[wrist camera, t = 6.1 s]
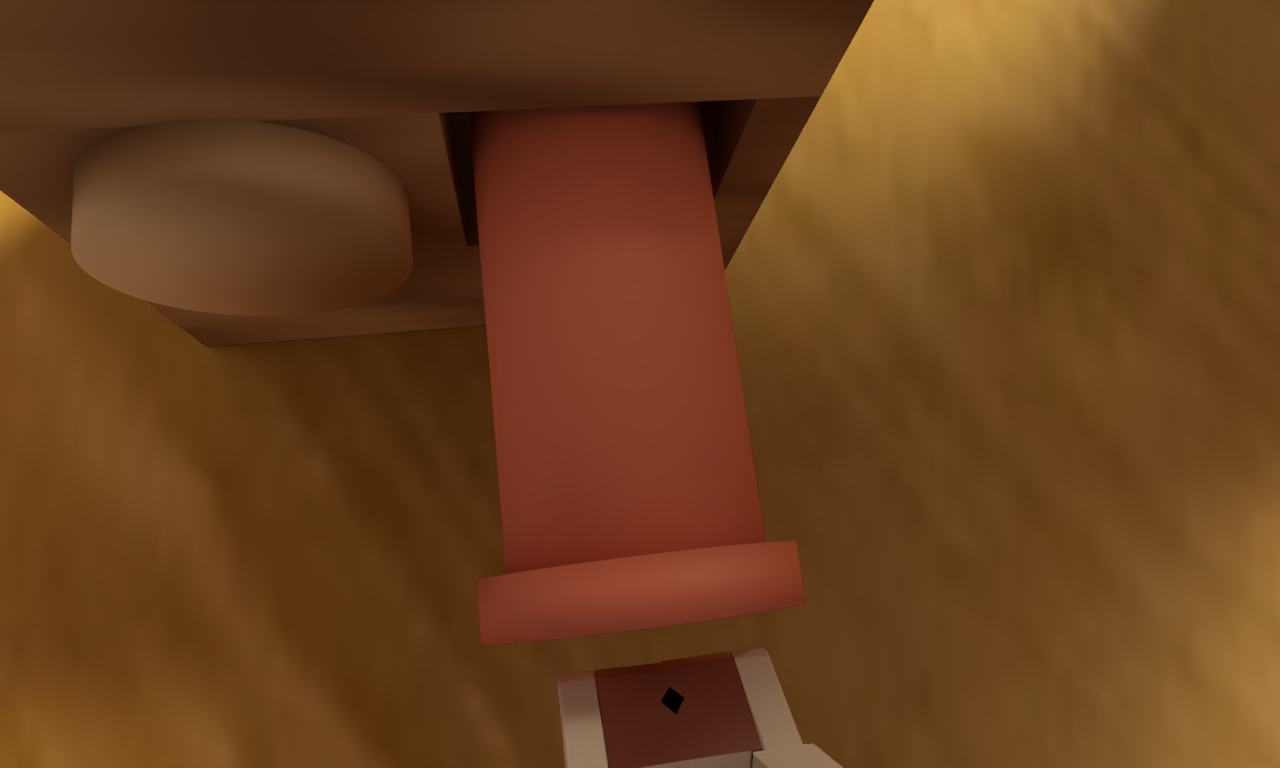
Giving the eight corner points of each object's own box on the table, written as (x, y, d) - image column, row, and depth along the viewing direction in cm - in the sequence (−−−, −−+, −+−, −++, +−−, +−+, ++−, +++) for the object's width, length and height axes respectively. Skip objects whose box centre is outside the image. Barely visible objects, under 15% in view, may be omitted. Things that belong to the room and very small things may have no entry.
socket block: (671, 81, 21) (800, -439, 11) (710, 348, 20) (909, 48, 9) (207, 100, 20) (-185, -485, 9) (207, 391, 18) (-271, 92, 7)
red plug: (676, 43, 16) (723, -151, 12) (760, 601, 14) (854, 601, 10) (446, 51, 16) (412, -150, 12) (490, 635, 13) (466, 652, 9)
